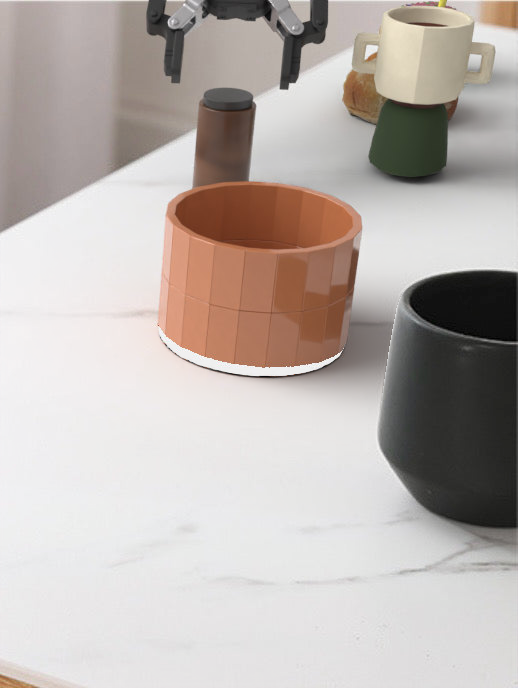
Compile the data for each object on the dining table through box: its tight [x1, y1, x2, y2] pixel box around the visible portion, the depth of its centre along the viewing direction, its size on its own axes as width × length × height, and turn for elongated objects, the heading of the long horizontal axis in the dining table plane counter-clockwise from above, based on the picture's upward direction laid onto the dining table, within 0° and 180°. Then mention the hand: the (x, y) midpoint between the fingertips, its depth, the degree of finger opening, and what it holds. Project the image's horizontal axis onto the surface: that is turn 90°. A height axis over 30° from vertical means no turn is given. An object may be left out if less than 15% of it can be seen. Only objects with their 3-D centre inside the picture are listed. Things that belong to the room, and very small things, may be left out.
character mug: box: [351, 5, 496, 178], centre depth 128 cm, size 11×7×13 cm, turn 69°
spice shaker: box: [191, 87, 257, 189], centre depth 124 cm, size 4×4×8 cm
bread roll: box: [341, 51, 459, 126], centre depth 143 cm, size 10×10×8 cm
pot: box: [157, 180, 363, 368], centre depth 102 cm, size 12×12×8 cm
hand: (230, 82), depth 124 cm, fingers open, 8 cm apart
